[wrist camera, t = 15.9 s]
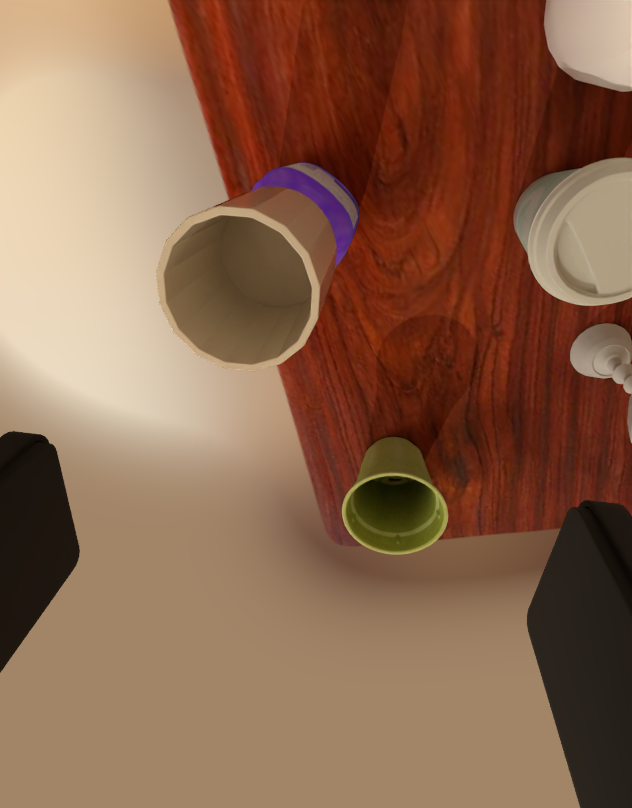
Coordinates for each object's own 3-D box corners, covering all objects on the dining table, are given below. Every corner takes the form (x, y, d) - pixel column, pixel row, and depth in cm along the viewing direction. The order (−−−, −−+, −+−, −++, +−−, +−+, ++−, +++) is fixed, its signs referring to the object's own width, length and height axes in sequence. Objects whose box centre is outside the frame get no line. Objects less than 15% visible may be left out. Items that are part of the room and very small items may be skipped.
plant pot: (353, 497, 55) (349, 556, 47) (342, 425, 50) (335, 476, 43) (440, 493, 53) (449, 553, 45) (436, 418, 49) (446, 470, 41)
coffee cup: (503, 154, 37) (551, 162, 27) (623, 150, 36) (722, 156, 26) (488, 268, 41) (524, 313, 31) (596, 267, 40) (671, 313, 30)
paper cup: (216, 181, 24) (148, 200, 17) (341, 191, 24) (325, 214, 17) (220, 303, 27) (164, 362, 20) (331, 314, 27) (314, 378, 20)
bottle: (261, 207, 41) (190, 249, 26) (300, 145, 39) (247, 152, 23) (330, 261, 43) (301, 331, 27) (372, 205, 40) (366, 248, 25)
